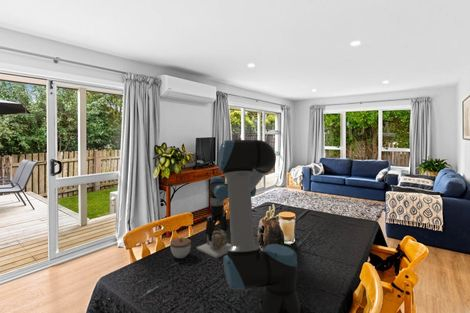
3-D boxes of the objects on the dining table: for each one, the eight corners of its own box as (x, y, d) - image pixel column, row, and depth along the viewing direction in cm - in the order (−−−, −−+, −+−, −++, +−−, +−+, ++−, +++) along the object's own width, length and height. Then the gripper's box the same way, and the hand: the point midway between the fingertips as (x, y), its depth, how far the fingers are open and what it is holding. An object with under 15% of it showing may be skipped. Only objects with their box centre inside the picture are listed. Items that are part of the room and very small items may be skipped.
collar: (216, 248, 143) (216, 237, 143) (206, 244, 148) (206, 234, 148) (226, 244, 149) (227, 233, 148) (217, 240, 154) (217, 230, 154)
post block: (216, 258, 138) (216, 243, 137) (196, 249, 148) (196, 235, 148) (236, 248, 149) (237, 234, 149) (217, 240, 160) (217, 227, 160)
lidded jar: (166, 257, 138) (165, 240, 137) (179, 249, 148) (179, 233, 147) (182, 262, 133) (182, 244, 132) (194, 253, 143) (194, 237, 142)
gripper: (207, 209, 137) (207, 251, 138) (234, 202, 152) (234, 240, 154) (198, 206, 142) (198, 247, 144) (225, 199, 157) (225, 236, 159)
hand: (216, 243), depth 149 cm, fingers closed on collar, 8 cm apart
